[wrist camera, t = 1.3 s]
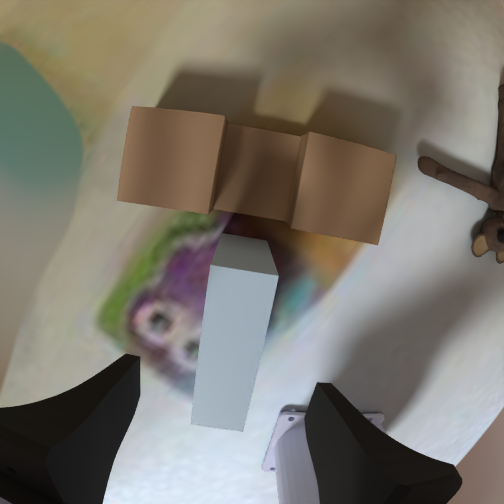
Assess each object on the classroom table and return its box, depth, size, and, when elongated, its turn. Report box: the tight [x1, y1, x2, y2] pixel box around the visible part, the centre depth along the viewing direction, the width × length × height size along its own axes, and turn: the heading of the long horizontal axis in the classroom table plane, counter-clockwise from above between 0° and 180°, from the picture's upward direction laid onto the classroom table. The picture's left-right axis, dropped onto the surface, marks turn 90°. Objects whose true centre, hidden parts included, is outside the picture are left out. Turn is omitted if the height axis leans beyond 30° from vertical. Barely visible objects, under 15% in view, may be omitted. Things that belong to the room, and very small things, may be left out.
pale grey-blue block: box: [191, 233, 279, 432], centre depth 18 cm, size 3×9×7 cm, turn 170°
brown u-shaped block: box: [117, 106, 396, 245], centre depth 17 cm, size 14×5×4 cm, turn 80°
